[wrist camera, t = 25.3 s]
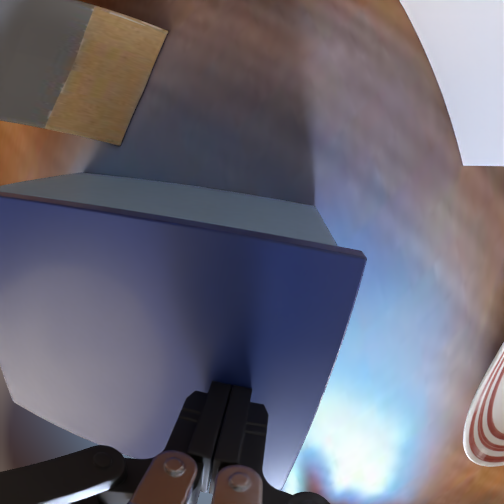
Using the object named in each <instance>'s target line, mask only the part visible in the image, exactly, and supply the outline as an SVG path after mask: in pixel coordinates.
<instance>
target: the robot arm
mask: <svg viewBox="0 0 504 504" xmlns="http://www.w3.org/2000/svg"><path fill="white" fill-rule="evenodd" d="M231 386H232V385H231V384H226V383H221V382H217V381H212V383H211V385H210V388H209V391H208V393H204V392H200V391H194V392H193V393H192V394H191V395H189V396H188V397H187V398H186V400H185V402H184V405H183V407H182V410H181V412H180V414H179V417H178V419H177V421H176V423H175V426H174V428H173V430H172V433H171V435H170V438H169V440H168V442H167V445H166V447H165V449H164V450H163V451H162V452H161V453H159V454H157V455H156V456H155V457H153V458H149V459H131V458H124V457H123V456H122V454H121V453H120V452H119V451H118V450H116V449H115V448H113V447H110V446H105V445H98V446H93V447H90V448H87V449H84V450H81V451H78V452H75V453H71V454H68V455H65V456H61V457H58V458H55V459H51V460H48V461H44V462H40V463H37V464H33V465H29V466H25V467H20V468H16V469H12V470H7V471H3V472H0V504H196V503H197V500H198V497H199V493H200V491H201V492H206V493H207V490H208V486H209V482H210V488H209V493H211V494H213V498H212V503H211V504H330V503H329V502H328V501H327V500H326V499H325V498H323V497H322V496H320V495H318V494H316V493H313V492H300V493H296V494H294V495H291V494H288V493H286V492H283V491H281V490H278V489H276V488H274V487H273V486H271V485H270V484H269V483H268V482H267V481H266V479H265V477H264V475H263V471H262V470H263V460H264V451H265V443H266V434H267V425H268V416H269V415H268V412H267V410H266V408H265V406H264V404H259V403H254V402H250V400H251V394H252V388H246V387H241V386H236V385H233V388H232V392H231ZM230 392H231V395H230ZM229 398H230V399H229ZM210 478H211V481H210Z"/></svg>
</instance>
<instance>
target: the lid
mask: <svg viewBox="0 0 504 504" xmlns="http://www.w3.org/2000/svg"><path fill="white" fill-rule="evenodd" d="M366 261H367V258H366V256H365V255H364V254H363V252H362V251H359V250H354V249H349V248H343V247H338V246H333V245H328V244H322V243H317V242H312V241H306V240H301V239H295V238H290V237H284V236H279V235H273V234H268V233H262V232H256V231H251V230H245V229H239V228H234V227H228V226H222V225H216V224H210V223H204V222H198V221H192V220H186V219H180V218H174V217H168V216H162V215H156V214H150V213H143V212H137V211H131V210H124V209H118V208H111V207H105V206H98V205H91V204H85V203H78V202H71V201H64V200H57V199H50V198H43V197H36V196H29V195H21V194H14V193H7V192H0V366H1V369H2V372H3V375H4V377H5V381H6V384H7V386H8V389H9V392H10V395H11V397H12V400H13V402H15V403H17V404H18V405H20V406H22V407H23V408H25V409H27V410H29V411H30V412H32V413H34V414H36V415H38V416H40V417H41V418H43V419H45V420H47V421H49V422H51V423H53V424H55V425H57V426H59V427H61V428H63V429H65V430H67V431H70V432H71V433H73V434H76V435H78V436H80V437H82V438H85V439H87V440H89V441H92V442H94V443H96V444H99V445H105V446H110V447H113V448H115V449H116V450H118V451H119V452H120V453H122V454H125V455H127V456H130V457H133V458H136V459H149V458H153V457H155V456H156V455H157V454H159V453H161V452H162V451H163V450H164V449H165V447H166V445H167V442H168V440H169V438H170V435H171V433H172V430H173V428H174V426H175V423H176V421H177V419H178V417H179V414H180V412H181V410H182V407H183V405H184V402H185V400H186V398H187V397H188V396H189V395H191V394H192V393H193V392H194V391H200V392H204V393H208V391H209V388H210V385H211V383H212V381H217V382H221V383H226V384H231V385H232V386H231V392H232V388H233V385H236V386H241V387H246V388H252V394H251V400H250V402H254V403H259V404H264V406H265V408H266V410H267V412H268V415H269V416H268V425H267V434H266V443H265V451H264V460H263V470H262V471H263V475H264V477H265V479H266V481H267V482H268V483H269V484H270V485H271V486H273V487H274V488H276V489H278V490H282V488H283V486H284V484H285V482H286V480H287V477H288V475H289V473H290V471H291V469H292V467H293V465H294V463H295V461H296V458H297V456H298V454H299V452H300V450H301V447H302V445H303V443H304V441H305V438H306V436H307V434H308V431H309V429H310V427H311V424H312V422H313V419H314V417H315V415H316V412H317V410H318V407H319V405H320V402H321V400H322V397H323V394H324V392H325V389H326V387H327V384H328V381H329V379H330V376H331V373H332V370H333V368H334V365H335V362H336V359H337V356H338V353H339V350H340V348H341V345H342V342H343V339H344V336H345V332H346V329H347V326H348V323H349V320H350V317H351V314H352V310H353V307H354V304H355V300H356V297H357V293H358V290H359V287H360V283H361V279H362V276H363V272H364V268H365V265H366ZM231 392H230V395H231ZM229 399H230V398H229ZM210 479H211V478H210Z"/></svg>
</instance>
